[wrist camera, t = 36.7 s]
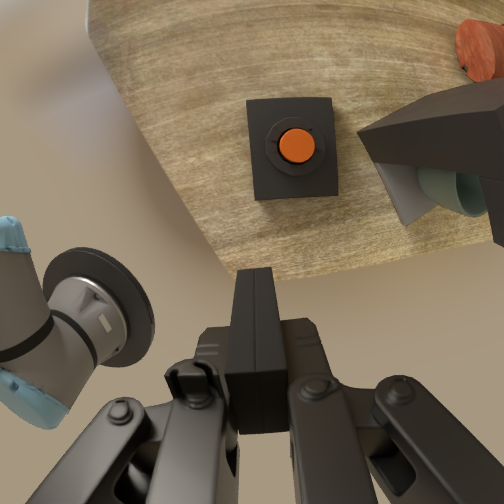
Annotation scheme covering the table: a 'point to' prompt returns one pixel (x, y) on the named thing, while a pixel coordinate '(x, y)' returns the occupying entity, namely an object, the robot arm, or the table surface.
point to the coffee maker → (443, 147)
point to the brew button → (297, 145)
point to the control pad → (275, 164)
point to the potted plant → (480, 49)
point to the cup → (453, 191)
